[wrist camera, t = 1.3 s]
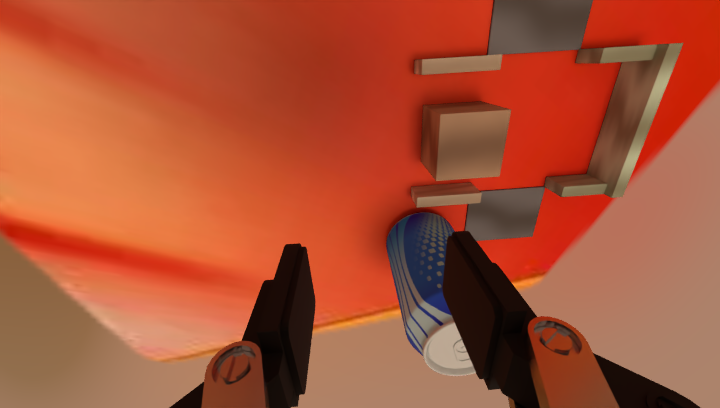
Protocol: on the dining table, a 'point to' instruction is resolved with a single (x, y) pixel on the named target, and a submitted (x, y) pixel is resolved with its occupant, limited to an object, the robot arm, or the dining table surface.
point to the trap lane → (618, 132)
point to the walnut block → (463, 139)
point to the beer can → (426, 291)
